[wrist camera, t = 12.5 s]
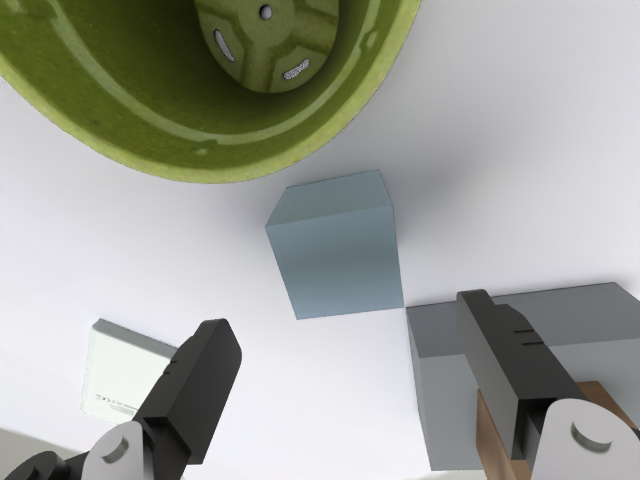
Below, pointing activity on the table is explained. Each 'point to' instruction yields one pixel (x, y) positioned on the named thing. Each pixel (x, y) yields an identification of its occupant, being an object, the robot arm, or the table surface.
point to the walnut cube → (500, 471)
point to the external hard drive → (121, 371)
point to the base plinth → (557, 333)
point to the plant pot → (201, 76)
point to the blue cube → (337, 246)
